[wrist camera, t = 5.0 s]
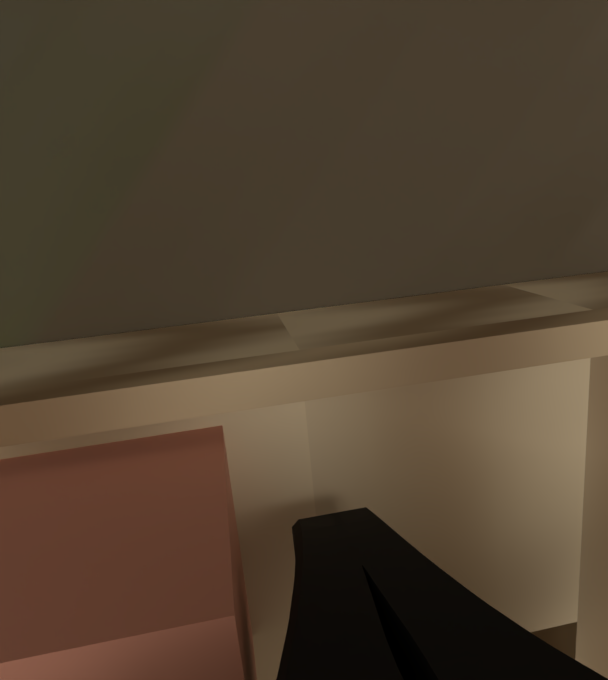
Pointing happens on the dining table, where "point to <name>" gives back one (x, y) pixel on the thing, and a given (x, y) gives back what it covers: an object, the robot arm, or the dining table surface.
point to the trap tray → (375, 436)
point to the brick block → (123, 563)
